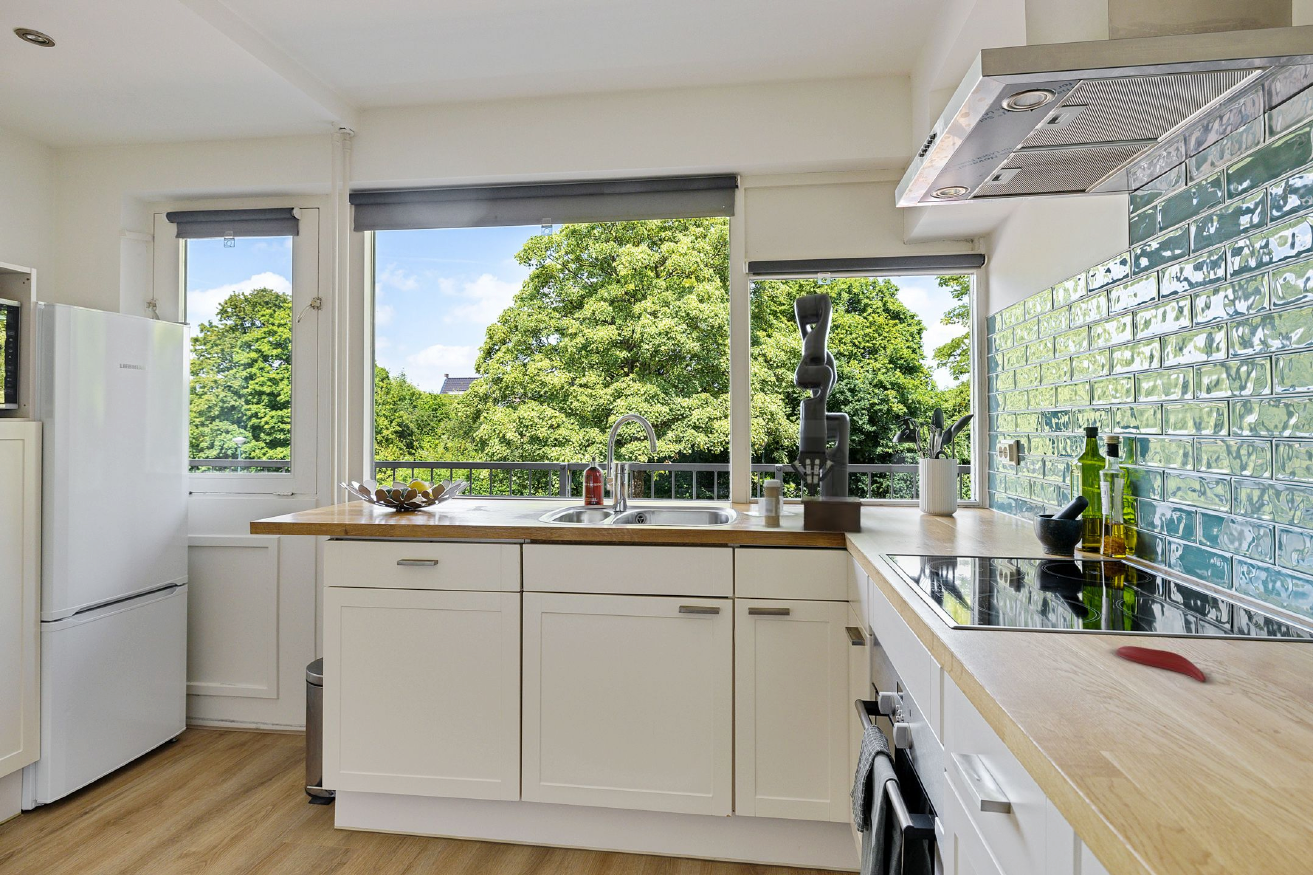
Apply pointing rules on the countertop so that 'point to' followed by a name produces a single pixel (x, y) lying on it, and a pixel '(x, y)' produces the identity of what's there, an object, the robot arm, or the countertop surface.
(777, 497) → the sprinkles bottle
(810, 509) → the chest
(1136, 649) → the cayenne pepper
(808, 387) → the robot arm
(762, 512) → the napkin holder
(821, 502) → the chest lid
